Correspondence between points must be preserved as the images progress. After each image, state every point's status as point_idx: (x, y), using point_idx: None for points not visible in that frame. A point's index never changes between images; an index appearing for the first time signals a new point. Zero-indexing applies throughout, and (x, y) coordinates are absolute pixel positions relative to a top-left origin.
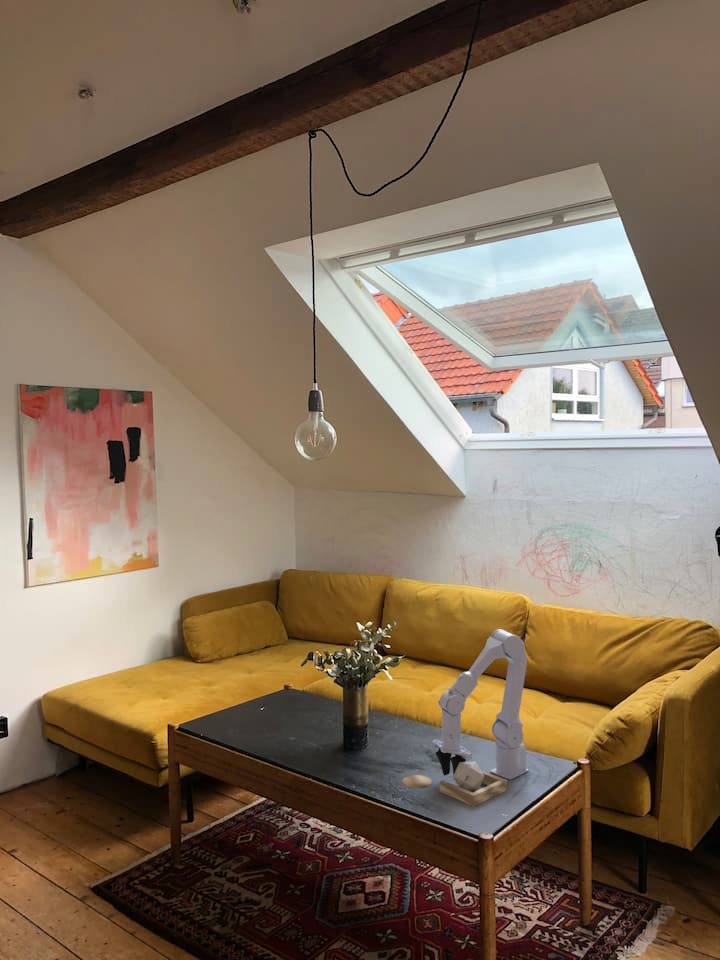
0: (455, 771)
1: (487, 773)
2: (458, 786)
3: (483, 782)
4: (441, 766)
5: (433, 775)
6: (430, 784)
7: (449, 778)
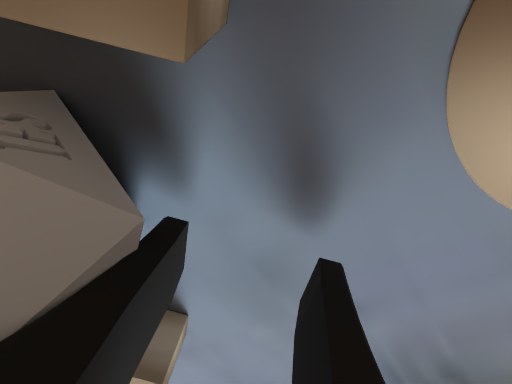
0: (60, 272)
1: None
2: (79, 127)
3: None
4: (364, 348)
5: (482, 272)
6: (448, 78)
7: None
